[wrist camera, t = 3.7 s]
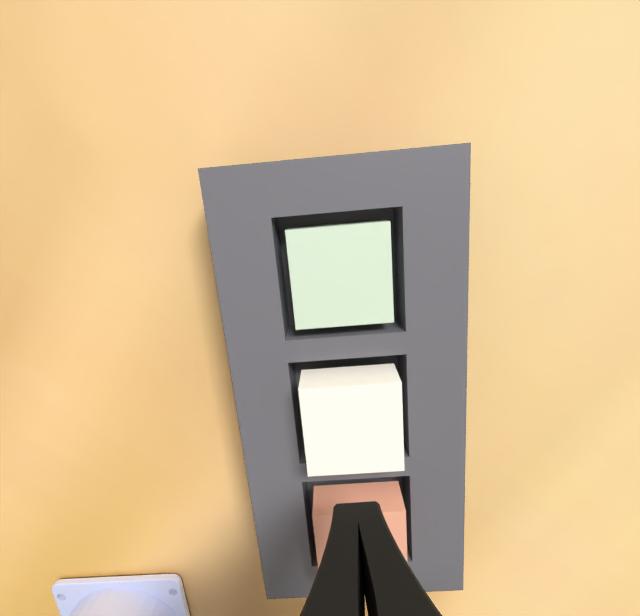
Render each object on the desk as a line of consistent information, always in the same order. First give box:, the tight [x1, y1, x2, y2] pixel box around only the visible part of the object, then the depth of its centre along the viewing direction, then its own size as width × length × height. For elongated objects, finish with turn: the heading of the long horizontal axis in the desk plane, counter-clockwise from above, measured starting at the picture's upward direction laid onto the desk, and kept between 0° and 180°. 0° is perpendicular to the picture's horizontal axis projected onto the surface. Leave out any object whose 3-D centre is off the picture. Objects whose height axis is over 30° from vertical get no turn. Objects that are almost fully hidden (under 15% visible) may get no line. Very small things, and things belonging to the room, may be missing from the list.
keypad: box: [198, 143, 471, 599], centre depth 18 cm, size 21×10×3 cm, turn 5°
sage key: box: [285, 220, 394, 330], centre depth 16 cm, size 4×4×2 cm
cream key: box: [298, 363, 405, 477], centre depth 16 cm, size 4×4×2 cm
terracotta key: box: [312, 481, 408, 569], centre depth 17 cm, size 4×4×2 cm
